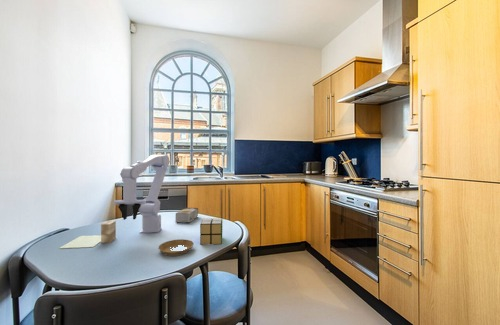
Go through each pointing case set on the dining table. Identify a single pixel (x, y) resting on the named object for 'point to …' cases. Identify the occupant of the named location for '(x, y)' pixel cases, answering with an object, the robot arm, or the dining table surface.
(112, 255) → the dining table surface
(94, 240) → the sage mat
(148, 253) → the dining table surface
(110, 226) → the birch block
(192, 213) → the coffee box
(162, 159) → the robot arm
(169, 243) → the plant saucer
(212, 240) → the puzzle cube
